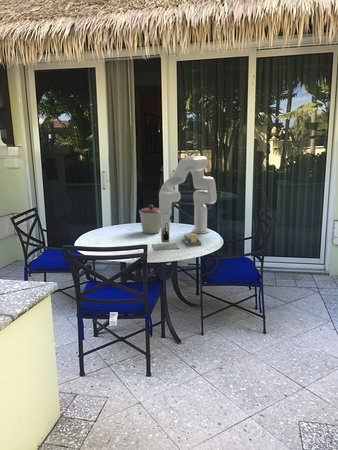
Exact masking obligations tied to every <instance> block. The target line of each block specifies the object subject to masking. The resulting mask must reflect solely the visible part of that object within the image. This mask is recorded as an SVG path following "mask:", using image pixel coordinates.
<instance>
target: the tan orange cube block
mask: <svg viewBox="0 0 338 450" xmlns="http://www.w3.org/2000/svg"><path fill="white" fill-rule="evenodd" d="M189 237H190V240H191V242H197V238H198V233H194V232H192V233H189Z"/></svg>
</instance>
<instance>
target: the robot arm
mask: <svg viewBox="0 0 338 450" xmlns="http://www.w3.org/2000/svg"><path fill="white" fill-rule="evenodd" d="M177 163H178V164H177V166H176V168H175V171H174V173H173V175H172V176H170V177H169V178H168V179H167V180H165V181H164V182H163V184H162V185H161V187H160V190H159V193H158V200H159V201H158V205H159V206H158V208H159V214H161V215H160V227H161V229H162V230H163V229H164V234H163V240H169V241H170V233H169V234H168V230H169V231H170V229H171V228H170V227H171V226H170V224H171V223H170V222H171V221H170V220H171V219H170V215H172V203H178V202H179V201H180V200H181V197H182V196H181V193H180V191H179V190H175V189H174V190H173V189H172V190H171V188H173V187H175V186H177V185H180V184H184V182H185V181H186V180H187V177H188V174H189V172H191V175H192V183H193V187H194V189H195V190H196V191H195V190H194V192H193V194H192V198H193V204H194V209H193V210H194V212H193V213H194V214H193V215H194V219H193V220H194V224H193V226H194V227H193V229H192V230H191V231H192V233H196V234H206V233H209V229H208V207H207V205H206V204H210V205H213V204H215V203H216V202H217V199H218V197H217V195H218V194H217V188H216V187H217V185H216V180H215V178H214V177H212V176H205V171H204V170H205V169H206V168H207V166H208V163H209V161H208V158H207V157H206V156H204V155H203V156H202V155H200V156H199V155H187V156H185V157H184V158H181V159H179V162H177ZM165 228H166V229H165ZM161 229H160V230H161ZM165 230H166V231H165Z"/></svg>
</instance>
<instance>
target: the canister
mask: <svg viewBox="0 0 338 450" xmlns="http://www.w3.org/2000/svg"><path fill="white" fill-rule="evenodd" d="M138 212H139V216H140V224H141V229H142V232H143V233H144V234H148V235H149V234H151V235H152V234H158V233H160V232H161V227H160V215H161V214H159V207H154V205H153V204H149V205H148V207H143V208H141V209H140V210H139V211H138Z"/></svg>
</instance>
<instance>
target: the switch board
mask: <svg viewBox="0 0 338 450" xmlns="http://www.w3.org/2000/svg"><path fill="white" fill-rule="evenodd" d="M181 241H182V242H183V243H184V244H186V245H185V246H186V247H190V246H192V247H193V246H202V241H201V240H200V239H199V238H198V237H197V242H191V240H190V236H188V235H184V237H182V238H181Z"/></svg>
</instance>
